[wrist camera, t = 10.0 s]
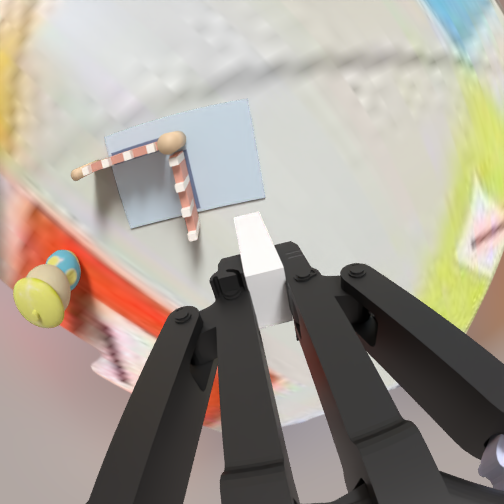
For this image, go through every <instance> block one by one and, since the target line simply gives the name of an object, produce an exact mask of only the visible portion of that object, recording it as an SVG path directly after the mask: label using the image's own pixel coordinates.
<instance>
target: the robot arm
mask: <svg viewBox="0 0 504 504" xmlns="http://www.w3.org/2000/svg"><path fill="white" fill-rule="evenodd" d="M234 221H235V227H236V233H237V238H238V244H239V249H240V254H239V255H235V256H231V257H227V258H223V259H221V261H220V262H219V264H218V271H217V272H216V273H214V274H213V275H212V276H211V278H210V284H211V287H212V290H213V293H214V295H215V299H216V301H215V302H214V303H213V304H212V305H211V306H209V307H207V308H206V309H203V310H201V311H198V309H197V308H195V307H193V306H185V307H181V308H178V309H176V310H175V311H173V312H172V313H171V314H170V315H169V316H168V318H167V320H166V322H165V324H164V326H163V328H162V330H161V332H160V334H159V336H158V338H157V340H156V342H155V344H154V347H153V349H152V351H151V353H150V355H149V357H148V359H147V361H146V363H145V366H144V368H143V370H142V372H141V374H140V376H139V379H138V381H137V383H136V385H135V387H134V390H133V392H132V394H131V397H130V399H129V401H128V404H127V406H126V408H125V410H124V413H123V415H122V417H121V419H120V422H119V424H118V427H117V429H116V431H115V434H114V436H113V439H112V441H111V443H110V446H109V449H108V451H107V453H106V456H105V458H104V461H103V464H102V466H101V469H100V471H99V474H98V477H97V479H96V482H95V485H94V488H93V490H92V493H91V496H90V498H89V501H88V502H87V503H86V504H183V502H184V498H185V494H186V489H187V485H188V481H189V477H190V473H191V469H192V465H193V461H194V457H195V453H196V449H197V445H198V441H199V437H200V433H201V429H202V425H203V421H204V417H205V413H206V409H207V405H208V401H209V397H210V393H211V390H212V386H213V382H214V378H215V374H216V370H217V366H218V376H219V394H220V409H221V424H222V437H223V449H224V460H225V470H224V472H223V473H222V475H221V479H220V493H221V503H222V504H300V502H299V498H298V494H297V491H296V487H295V484H294V480H293V476H292V471H291V467H290V463H289V458H288V454H287V450H286V446H285V441H284V437H283V432H282V428H281V423H280V419H279V414H278V410H277V406H276V401H275V397H274V392H273V388H272V383H271V379H270V374H269V370H268V365H267V361H266V356H265V352H264V347H263V342H262V338H261V334H260V330H259V329H261V328H265V327H269V326H273V325H277V324H281V323H285V322H289V321H292V320H293V319H294V325H295V331H296V338H297V341H298V340H299V341H300V344H301V347H302V349H303V352H304V355H305V358H306V361H307V364H308V367H309V369H310V372H311V375H312V378H313V381H314V384H315V387H316V390H317V393H318V395H319V398H320V401H321V404H322V407H323V410H324V413H325V416H326V419H327V421H328V425H329V428H330V431H331V434H332V437H333V440H334V443H335V445H336V449H337V452H338V455H339V458H340V461H341V464H342V467H343V472H344V479H345V483H346V487H347V490H348V494H346V495H344V496H343V497H341V498H339V499H337V500H336V501H333V502H329V503H313V504H504V364H503V363H502V362H500V361H499V360H498V359H497V358H495V357H494V356H493V355H492V354H491V353H489V352H488V351H487V350H486V349H484V348H483V347H482V346H481V345H479V344H478V343H477V342H475V341H474V340H473V339H472V338H470V337H469V336H467V335H466V334H465V333H464V332H462V331H461V330H460V329H458V328H457V327H456V326H454V325H453V324H452V323H450V322H449V321H448V320H446V319H445V318H444V317H442V316H441V315H439V314H438V313H437V312H435V311H434V310H433V309H431V308H430V307H428V306H427V305H426V304H424V303H423V302H421V301H420V300H418V299H417V298H416V297H414V296H413V295H411V294H410V293H408V292H407V291H406V290H404V289H403V288H401V287H400V286H398V285H397V284H395V283H394V282H392V281H391V280H389V279H388V278H386V277H385V276H383V275H382V274H380V273H379V272H377V271H376V270H374V269H373V268H371V267H370V266H368V265H365V264H360V263H354V264H350V265H347V266H345V267H344V268H342V270H341V272H340V274H341V276H323V275H321V274H320V272H319V271H318V270H317V269H314V268H312V267H311V266H310V265H309V263H308V261H307V260H306V258H305V256H304V255H303V253H302V251H301V250H300V248H299V246H298V245H297V244H295V243H293V242H291V241H290V242H285V243H281V244H277V245H274V244H273V242H272V240H271V237H270V235H269V233H268V231H267V228H266V226H265V224H264V222H263V219H262V217H261V215H260V213H259V211H258V212H254V213H250V214H246V215H242V216H237V217H234ZM292 316H293V319H292ZM366 351H367V352H368V353H369V354H370V355H371V356H372V357H373V358H374V359H375V360H376V361H377V362H378V363H379V364H380V365H381V366H382V367H383V368H384V369H385V370H386V371H387V372H388V373H389V375H390V376H391V377H392V378H393V379H394V380H395V381H396V382H397V383H398V384H399V385H400V386H401V387H402V388H403V389H404V390H405V391H406V392H407V393H408V394H409V395H410V396H411V397H412V398H413V399H414V400H415V401H416V402H417V403H418V404H419V405H420V406H421V407H422V408H423V409H424V410H425V411H426V412H427V413H428V414H429V415H430V416H431V417H432V418H433V420H435V422H436V423H437V424H438V425H439V426H440V427H441V428H442V429H443V430H444V431H445V432H446V433H447V434H448V435H449V436H450V437H451V438H452V439H453V440H454V441H455V442H456V443H457V444H458V445H459V446H460V447H461V448H462V449H463V450H465V451H466V452H468V453H469V454H471V455H472V456H474V457H476V458H478V459H480V460H481V464H480V465H479V468H478V472H479V475H480V476H482V477H486V478H487V479H489V480H490V481H491V483H492V485H493V488H490V487H486V486H483V485H480V484H477V483H473V482H470V481H467V480H464V479H461V478H458V477H455V476H453V475H450V474H447V473H444V472H441V471H439V470H438V468H437V466H436V464H435V462H434V460H433V457H432V455H431V453H430V451H429V449H428V447H427V445H426V443H425V441H424V439H423V437H422V435H421V433H420V431H419V430H418V428H417V427H416V425H415V424H414V423H413V422H411V421H408V420H404V419H403V418H402V416H401V415H400V413H399V411H398V409H397V407H396V405H395V404H394V402H393V400H392V398H391V396H390V394H389V392H388V390H387V388H386V386H385V384H384V383H383V381H382V379H381V377H380V375H379V373H378V372H377V370H376V368H375V366H374V364H373V362H372V361H371V359H370V357H369V355H368V353H367V352H366Z"/></svg>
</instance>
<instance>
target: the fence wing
mask: <svg viewBox="0 0 504 504" xmlns="http://www.w3.org/2000/svg"><path fill="white" fill-rule="evenodd" d="M168 160H169V165H170V167H172V170H173V174H174V178H175V182H176V184H175V189H176V193H178V194H179V198H180V202H181V206H182V209H181V213H182V216H183V218H185V221H186V225H187V229H188V238H189V242H190V241H194V240H197V239H198V233H199V227H200V220H199V216H198V212H197V208H196V204H195V200H194V196H193V191H192V187H191V183H190V179H189V174H188V170H187V166H186V161H185V157H184V152H183V151H179V152H175V153H174V154H173V155H171V156H170V158H169V159H168Z"/></svg>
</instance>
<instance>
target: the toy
mask: <svg viewBox="0 0 504 504" xmlns="http://www.w3.org/2000/svg"><path fill="white" fill-rule="evenodd" d="M80 275H81V269H80V263H79V260H78V258H77V256H76V255H75V254H74V253H73V252H71V251H69V250H58V251H56V252H54V253H53V254H52V255H51V256H49V258H48V259H47V262H46V264H43V265H39V266H37V267H35V268H34V269H32V270H31V271H30V272H29V273H28V275H27V277H26V278H23V279H20V280H19V281H18V282H17V283H16V284H15V286H14V291H13V295H14V301H15V304H16V306H17V308H18V310H19V311H20V313H21V314H22V315H23V317H24V318H25V319H27V320H28V321H29V322H30V323H32V324H34V325H36V326H38V327H42V328H53V327H56V326H58V325H60V324H61V323H62V321H63V319H64V311H65V309H66V308H67V306H68V304H69V301H70V295H71V290H73V289H74V288H75V287H76V285H77V284H78V282H79V280H80Z"/></svg>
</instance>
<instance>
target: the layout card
mask: <svg viewBox="0 0 504 504" xmlns="http://www.w3.org/2000/svg"><path fill="white" fill-rule="evenodd" d="M174 131H181V132H183V133H184V134H185V135H186V143H185V145H184V146H183V147H181V148H180V149H178V150H177V151H176V152H179V151H183V152H184V157H185V161H186V166H187V170H188V174H189V179H190V183H191V187H192V191H193V196H194V200H195V204H196V208H197V212H200V211H204V210H208V209H213V208H217V207H222V206H227V205H231V204H236V203H241V202H246V201H250V200H255V199H260V198H266V197H265V191H264V185H263V180H262V174H261V168H260V162H259V157H258V151H257V146H256V140H255V135H254V129H253V124H252V118H251V113H250V108H249V102H248V99H242V100H236V101H231V102H225V103H220V104H215V105H211V106H206V107H202V108H197V109H193V110H189V111H185V112H181V113H177V114H173V115H170V116H166V117H163V118H159V119H156V120H153V121H149V122H146V123H143V124H140V125H137V126H134V127H131V128H128V129H125V130H122V131H119V132H117V133H114V134H111V135H108V136H106V137H104V139H105V143H106V147H107V151H108V155H109V157H111V156H114V155H117V154H119V153H122V152H125V151H128V150H131V149H134V148H137V147H141V146H144V145H147V144H150V143H154V142H157V141H158V139H159V137H160V136H161V135H163V134H165V133H169V132H174ZM174 153H175V152H174ZM174 153H172V154H169V155H166V154H163V153H161V152H160V151H159V150H158V151H156V152H152V153H149V154H144V155H141V156H138V157H135V158H132V159H130V160H127V161H123V162H120V163H117V164H114V165H111V166H112V170H113V173H114V177H115V180H116V184H117V187H118V191H119V194H120V197H121V200H122V203H123V207H124V210H125V213H126V216H127V219H128V222H129V225H130V228H135V227H138V226H142V225H146V224H150V223H154V222H158V221H162V220H166V219H170V218H174V217H178V216H182V213H181V209H182V206H181V202H180V198H179V194H178V193H176V189H175V184H176V182H175V178H174V174H173V170H172V167H170V165H169V160H168V159H169V158H170V156H171V155H173V154H174Z"/></svg>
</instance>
